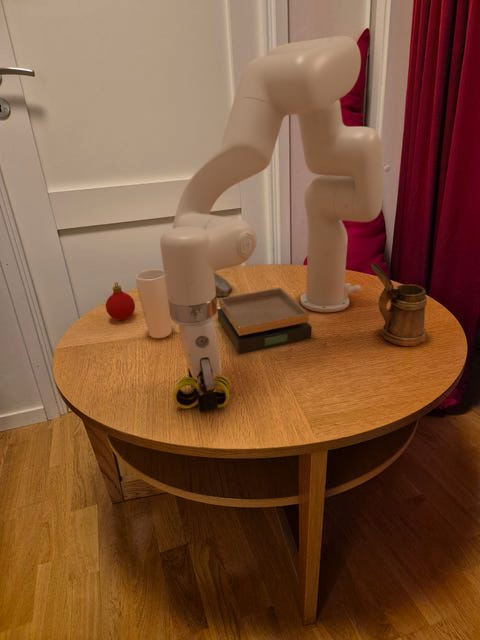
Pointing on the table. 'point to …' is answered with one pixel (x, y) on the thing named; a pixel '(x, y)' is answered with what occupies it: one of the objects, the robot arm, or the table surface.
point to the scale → (264, 335)
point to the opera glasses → (191, 398)
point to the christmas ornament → (120, 304)
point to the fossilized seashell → (221, 286)
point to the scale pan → (262, 311)
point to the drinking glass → (154, 302)
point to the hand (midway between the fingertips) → (203, 396)
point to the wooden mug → (402, 311)
